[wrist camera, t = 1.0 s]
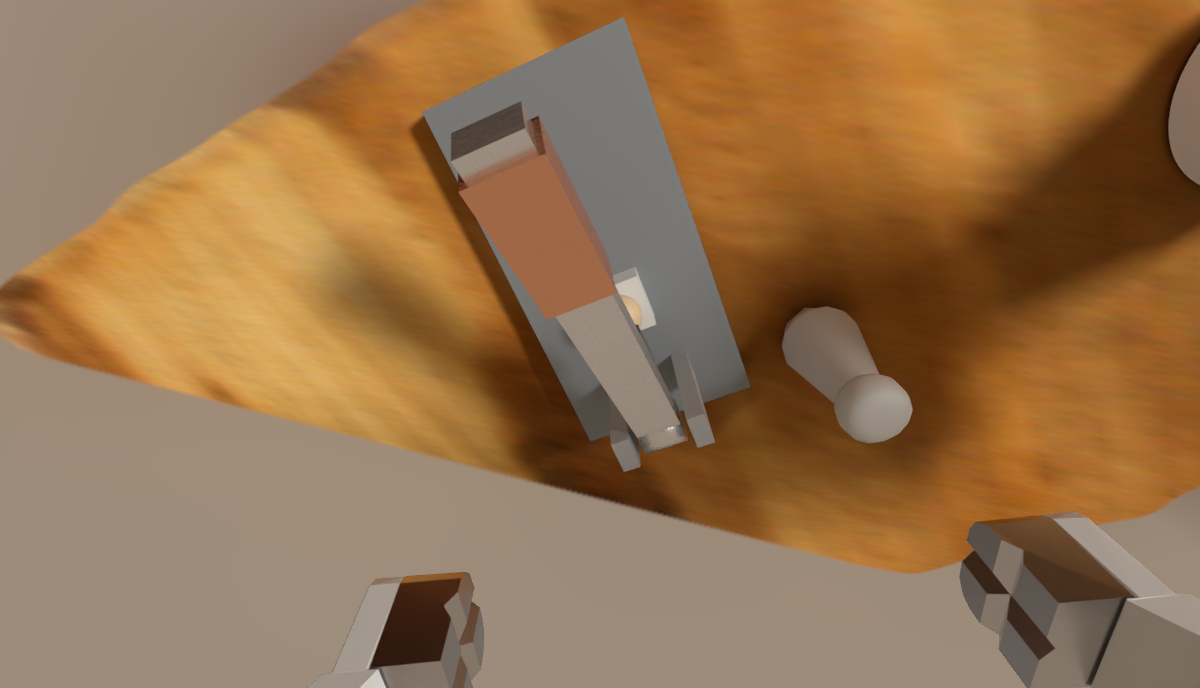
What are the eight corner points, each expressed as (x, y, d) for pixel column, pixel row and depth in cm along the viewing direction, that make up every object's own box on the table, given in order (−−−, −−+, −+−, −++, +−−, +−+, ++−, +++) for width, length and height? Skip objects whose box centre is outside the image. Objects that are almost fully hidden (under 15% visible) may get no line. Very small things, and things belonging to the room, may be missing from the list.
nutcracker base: (745, 374, 48) (782, 456, 38) (590, 427, 50) (588, 517, 40) (622, 19, 36) (630, 2, 26) (430, 110, 39) (371, 125, 29)
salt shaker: (853, 347, 46) (938, 443, 35) (785, 371, 47) (844, 471, 36) (838, 285, 44) (923, 365, 32) (766, 311, 45) (823, 398, 33)
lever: (682, 404, 41) (695, 446, 39) (636, 420, 42) (646, 462, 40) (526, 85, 22) (533, 131, 20) (444, 123, 23) (443, 172, 20)
